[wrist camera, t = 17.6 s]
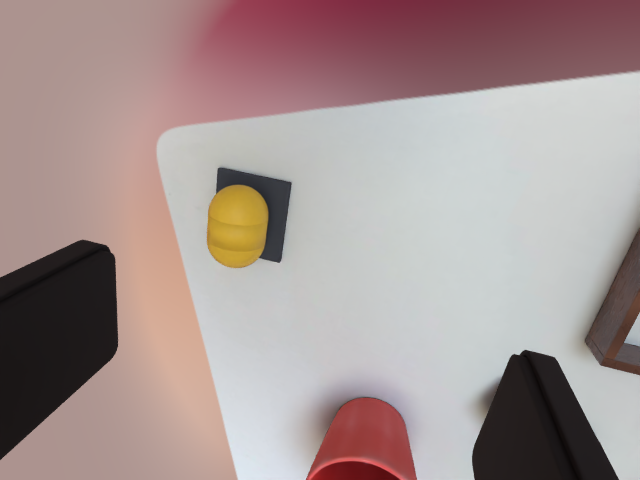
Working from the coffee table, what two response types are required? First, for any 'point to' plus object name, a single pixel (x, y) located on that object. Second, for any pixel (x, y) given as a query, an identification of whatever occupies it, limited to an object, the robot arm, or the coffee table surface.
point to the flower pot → (365, 445)
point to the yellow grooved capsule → (237, 226)
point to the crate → (619, 317)
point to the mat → (276, 201)
